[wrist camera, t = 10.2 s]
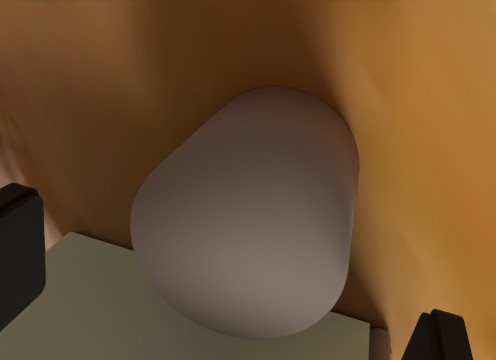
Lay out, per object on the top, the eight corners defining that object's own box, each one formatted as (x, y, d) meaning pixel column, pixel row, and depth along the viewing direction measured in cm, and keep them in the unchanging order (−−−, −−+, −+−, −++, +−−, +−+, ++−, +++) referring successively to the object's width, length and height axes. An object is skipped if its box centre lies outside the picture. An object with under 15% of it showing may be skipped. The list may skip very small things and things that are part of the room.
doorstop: (358, 236, 18) (349, 351, 13) (213, 228, 19) (151, 327, 14) (359, 83, 15) (348, 145, 10) (193, 88, 17) (109, 145, 12)
